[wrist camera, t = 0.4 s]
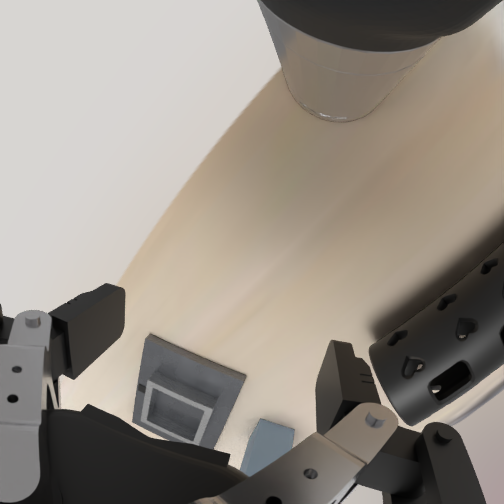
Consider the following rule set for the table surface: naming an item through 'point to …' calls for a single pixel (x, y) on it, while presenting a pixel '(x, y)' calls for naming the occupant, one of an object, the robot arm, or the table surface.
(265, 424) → the peg
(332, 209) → the table surface
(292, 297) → the table surface
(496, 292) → the muzzle brake
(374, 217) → the table surface
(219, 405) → the grey metal socket plate
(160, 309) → the table surface
